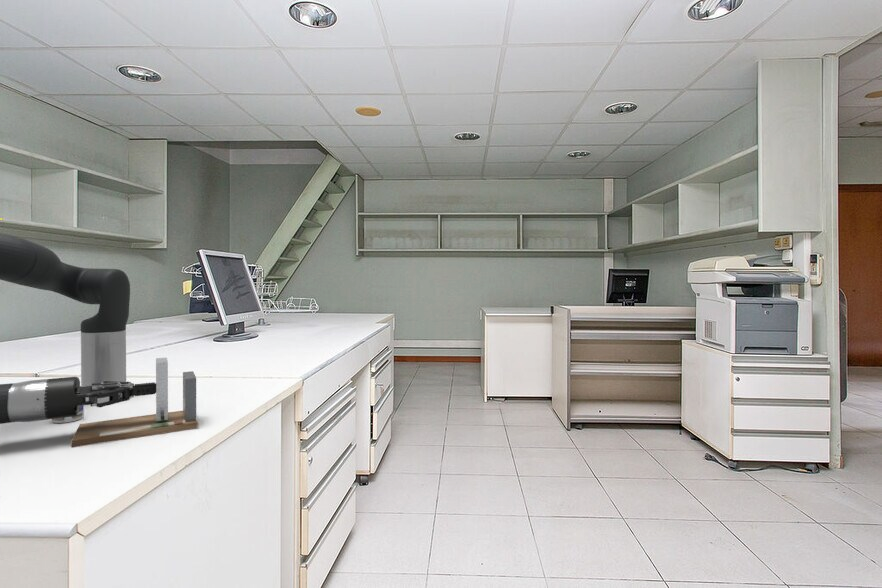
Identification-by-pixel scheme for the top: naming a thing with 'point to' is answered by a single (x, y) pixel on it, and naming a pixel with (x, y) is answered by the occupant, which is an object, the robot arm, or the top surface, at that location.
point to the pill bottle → (71, 419)
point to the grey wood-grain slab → (189, 396)
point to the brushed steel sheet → (161, 389)
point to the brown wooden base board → (129, 428)
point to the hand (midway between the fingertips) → (156, 388)
